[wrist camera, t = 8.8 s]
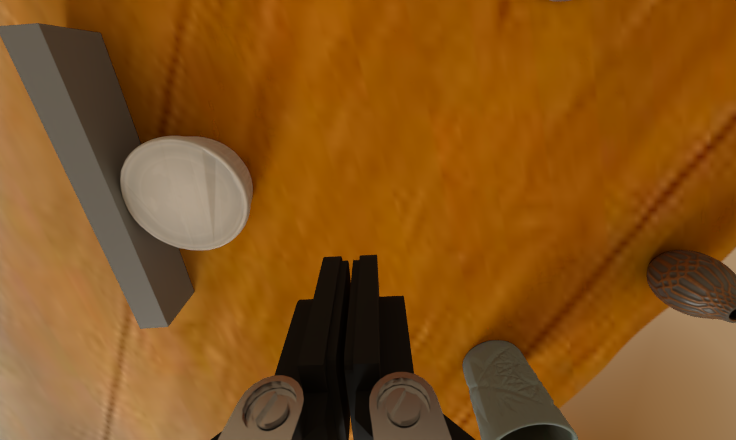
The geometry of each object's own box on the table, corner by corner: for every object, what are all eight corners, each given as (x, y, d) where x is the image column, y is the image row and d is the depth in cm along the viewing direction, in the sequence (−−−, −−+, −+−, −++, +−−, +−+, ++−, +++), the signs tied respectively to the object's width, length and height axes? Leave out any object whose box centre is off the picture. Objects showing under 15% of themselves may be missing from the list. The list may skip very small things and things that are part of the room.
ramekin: (282, 203, 35) (270, 224, 31) (199, 243, 37) (176, 268, 32) (220, 107, 31) (195, 113, 26) (130, 157, 33) (91, 171, 28)
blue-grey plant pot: (519, 327, 44) (572, 412, 33) (533, 375, 48) (584, 465, 37) (448, 350, 45) (476, 439, 34) (467, 394, 49) (498, 487, 38)
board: (66, 35, 28) (-4, 26, 23) (100, 32, 28) (38, 23, 23) (170, 293, 40) (140, 328, 34) (194, 291, 40) (168, 326, 34)
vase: (658, 296, 42) (728, 349, 34) (623, 273, 40) (688, 323, 32) (705, 257, 40) (792, 304, 32) (670, 231, 38) (753, 274, 30)
